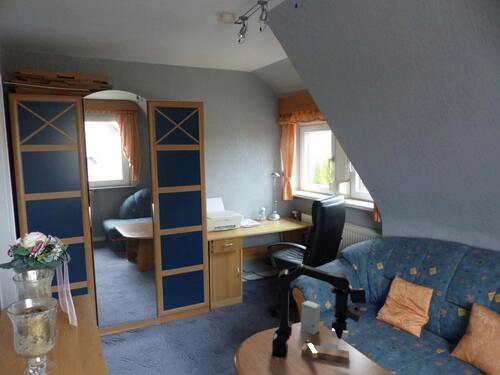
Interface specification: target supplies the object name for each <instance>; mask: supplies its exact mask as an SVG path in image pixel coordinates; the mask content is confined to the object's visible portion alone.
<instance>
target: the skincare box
mask: <svg viewBox="0 0 500 375" xmlns="http://www.w3.org/2000/svg"><path fill="white" fill-rule="evenodd" d="M321 306H322V305H321V304H319V303H316V302H314V301H312V300H311V301H310V300H306V301H304V302H302V303H301V316H300V318H301V319H300V331H303V332H304V333H308V334H310V335H313V336H314V335H315V334H316V333H318V332H319V331H320V318H321Z"/></svg>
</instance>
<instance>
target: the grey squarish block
mask: <svg viewBox="0 0 500 375" xmlns="http://www.w3.org/2000/svg"><path fill="white" fill-rule="evenodd" d="M349 334H350V326H349V325H347V330H343V333H342V337H341V339H344V340H349ZM331 337H333V338H337V339H338V337H337V335H336V332H335V330H334V329H333V328H332V327H331Z"/></svg>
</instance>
